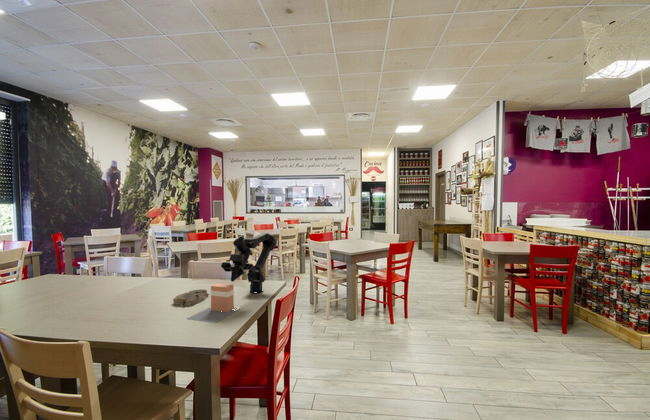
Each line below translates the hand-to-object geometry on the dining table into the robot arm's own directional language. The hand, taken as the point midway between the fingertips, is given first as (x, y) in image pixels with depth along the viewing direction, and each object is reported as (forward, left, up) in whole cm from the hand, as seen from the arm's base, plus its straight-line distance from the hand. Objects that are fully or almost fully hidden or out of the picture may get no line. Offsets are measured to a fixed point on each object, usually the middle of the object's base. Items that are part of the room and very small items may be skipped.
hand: (231, 281), depth 151 cm
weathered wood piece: (+10, -23, -13) cm, 29 cm away
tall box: (+7, +4, -12) cm, 15 cm away
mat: (+11, +6, -13) cm, 18 cm away
